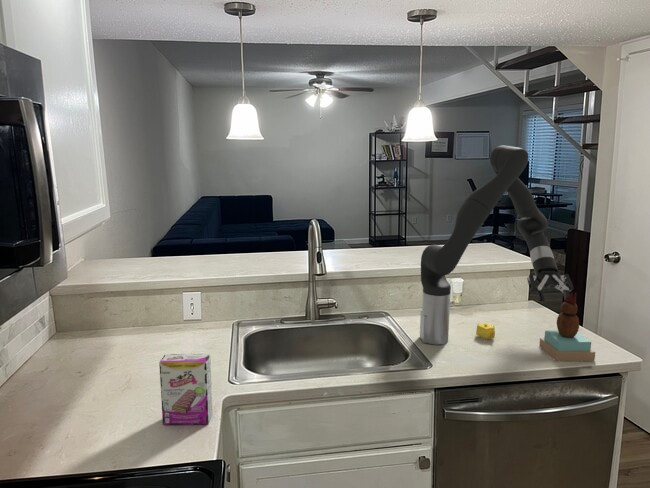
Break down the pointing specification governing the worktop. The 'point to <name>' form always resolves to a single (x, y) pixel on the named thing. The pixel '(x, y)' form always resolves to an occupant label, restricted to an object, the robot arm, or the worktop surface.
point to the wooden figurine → (568, 318)
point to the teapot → (485, 331)
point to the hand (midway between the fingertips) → (555, 301)
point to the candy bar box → (186, 389)
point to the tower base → (566, 353)
